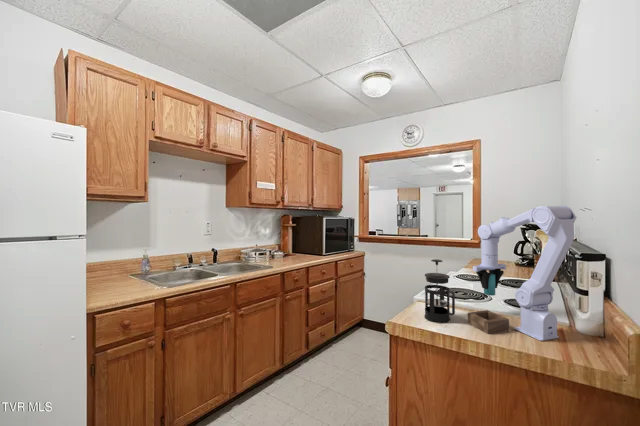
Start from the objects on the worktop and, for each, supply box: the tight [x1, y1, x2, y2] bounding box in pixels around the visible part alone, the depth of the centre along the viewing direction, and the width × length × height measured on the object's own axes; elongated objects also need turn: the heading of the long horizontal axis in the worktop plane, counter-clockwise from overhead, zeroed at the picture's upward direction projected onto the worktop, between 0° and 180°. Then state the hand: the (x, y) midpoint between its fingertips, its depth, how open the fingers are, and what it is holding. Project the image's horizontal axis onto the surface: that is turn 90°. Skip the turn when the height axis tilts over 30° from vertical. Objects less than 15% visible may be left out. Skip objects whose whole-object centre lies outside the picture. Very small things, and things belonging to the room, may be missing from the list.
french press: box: [423, 258, 456, 324], centre depth 109 cm, size 12×9×23 cm
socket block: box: [467, 309, 510, 335], centre depth 101 cm, size 9×9×4 cm
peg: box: [483, 274, 496, 297], centre depth 113 cm, size 4×4×8 cm
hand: (489, 288), depth 113 cm, fingers closed on peg, 4 cm apart
